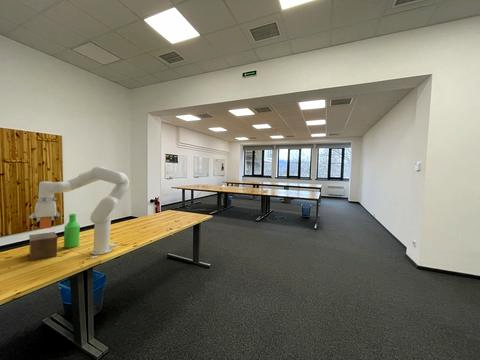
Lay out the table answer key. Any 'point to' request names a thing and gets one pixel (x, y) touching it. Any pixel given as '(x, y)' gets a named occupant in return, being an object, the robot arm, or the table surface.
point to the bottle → (71, 232)
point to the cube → (45, 223)
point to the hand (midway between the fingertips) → (45, 226)
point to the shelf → (43, 246)
